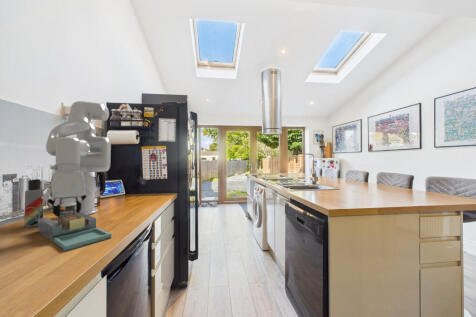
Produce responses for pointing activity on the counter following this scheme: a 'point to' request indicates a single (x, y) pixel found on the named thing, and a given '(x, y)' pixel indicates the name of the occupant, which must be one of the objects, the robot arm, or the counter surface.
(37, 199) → the lotion bottle
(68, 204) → the pill bottle
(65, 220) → the chip
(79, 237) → the tray
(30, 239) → the counter surface
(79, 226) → the chip
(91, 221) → the slot block
